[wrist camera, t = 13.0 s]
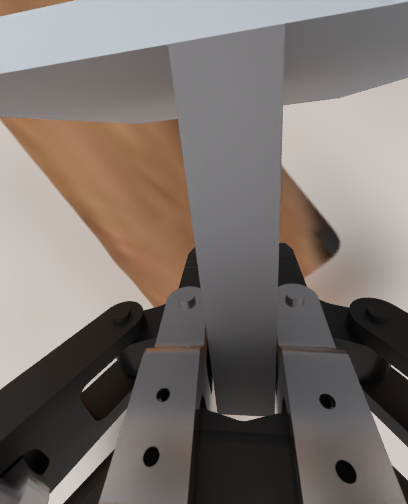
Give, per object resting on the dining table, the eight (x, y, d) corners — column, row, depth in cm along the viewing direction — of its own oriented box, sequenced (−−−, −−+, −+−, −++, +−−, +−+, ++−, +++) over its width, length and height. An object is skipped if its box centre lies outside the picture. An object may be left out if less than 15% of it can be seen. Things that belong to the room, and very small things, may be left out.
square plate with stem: (-218, 63, 4) (16, 403, 8) (1139, -229, 2) (559, 431, 6) (136, 114, 18) (158, 225, 22) (340, 87, 16) (326, 214, 20)
